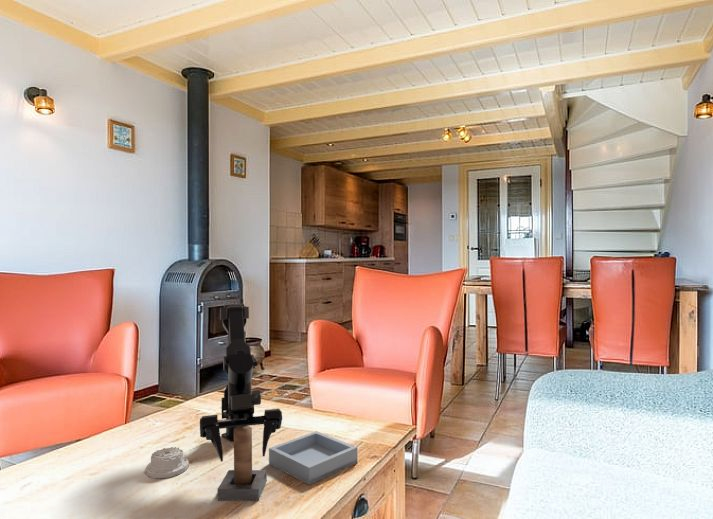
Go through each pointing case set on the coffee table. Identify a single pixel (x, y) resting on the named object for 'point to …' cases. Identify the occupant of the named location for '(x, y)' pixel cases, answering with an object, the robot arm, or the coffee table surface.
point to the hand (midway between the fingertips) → (243, 458)
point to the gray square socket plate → (242, 487)
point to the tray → (312, 456)
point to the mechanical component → (167, 463)
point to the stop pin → (243, 455)
